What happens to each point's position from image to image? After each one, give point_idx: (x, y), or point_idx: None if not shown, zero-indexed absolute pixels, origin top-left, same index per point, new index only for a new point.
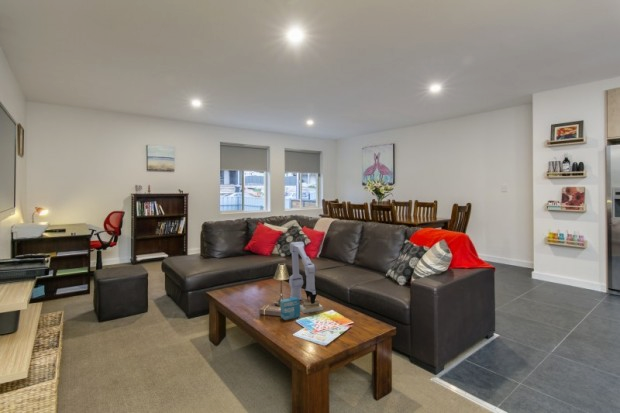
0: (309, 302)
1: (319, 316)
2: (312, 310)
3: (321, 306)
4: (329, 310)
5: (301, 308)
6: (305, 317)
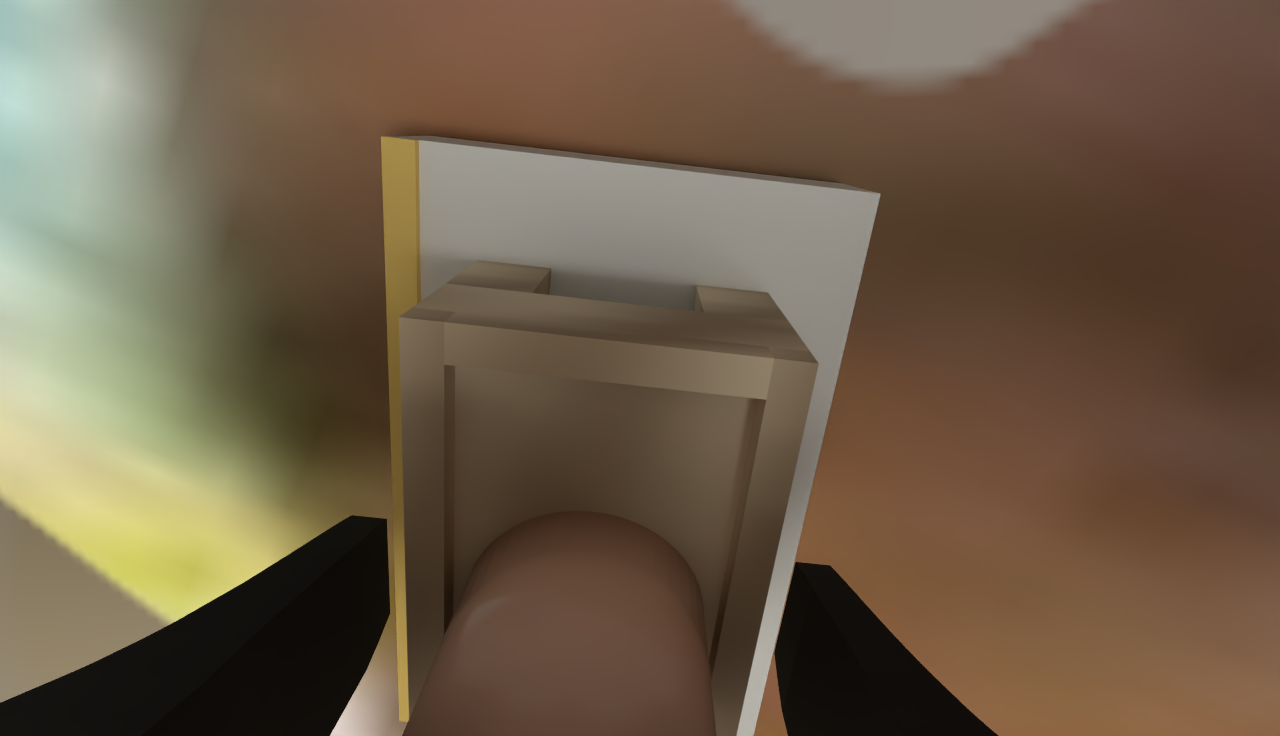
0: (415, 489)
1: (81, 420)
2: None
3: (403, 691)
4: (371, 731)
5: (630, 162)
6: (88, 43)
